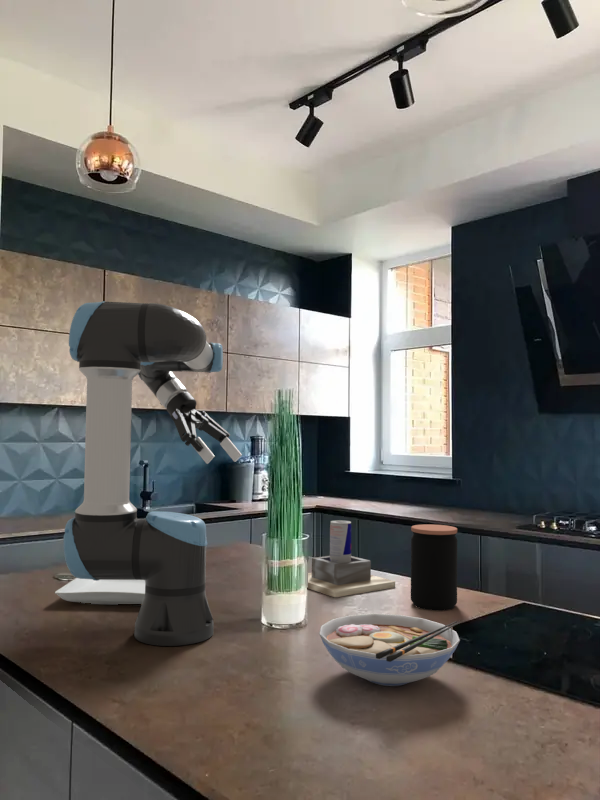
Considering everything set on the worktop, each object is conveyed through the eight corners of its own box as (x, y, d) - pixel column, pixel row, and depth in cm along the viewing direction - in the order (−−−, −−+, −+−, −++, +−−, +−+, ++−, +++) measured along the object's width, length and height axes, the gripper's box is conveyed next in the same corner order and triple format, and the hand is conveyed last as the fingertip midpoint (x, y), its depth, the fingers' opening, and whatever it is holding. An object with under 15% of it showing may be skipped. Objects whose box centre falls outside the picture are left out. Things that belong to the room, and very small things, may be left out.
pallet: (395, 587, 173) (395, 561, 173) (335, 597, 161) (335, 570, 161) (345, 573, 189) (346, 550, 189) (287, 581, 177) (288, 556, 178)
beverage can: (350, 581, 172) (350, 523, 172) (328, 580, 172) (328, 522, 173) (351, 577, 177) (352, 520, 178) (330, 576, 178) (331, 519, 179)
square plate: (174, 611, 148) (174, 593, 148) (51, 608, 149) (52, 591, 149) (195, 583, 175) (195, 568, 175) (91, 581, 176) (92, 566, 176)
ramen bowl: (371, 645, 125) (371, 600, 126) (486, 674, 111) (486, 624, 111) (284, 682, 106) (285, 629, 107) (410, 723, 92) (411, 663, 92)
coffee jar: (454, 600, 160) (454, 525, 161) (460, 612, 149) (460, 531, 150) (409, 598, 161) (409, 523, 162) (412, 610, 150) (412, 530, 151)
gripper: (194, 412, 189) (239, 467, 182) (138, 408, 166) (188, 471, 159) (211, 393, 187) (257, 448, 180) (157, 387, 164) (207, 449, 157)
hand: (225, 459), depth 169 cm, fingers open, 13 cm apart
